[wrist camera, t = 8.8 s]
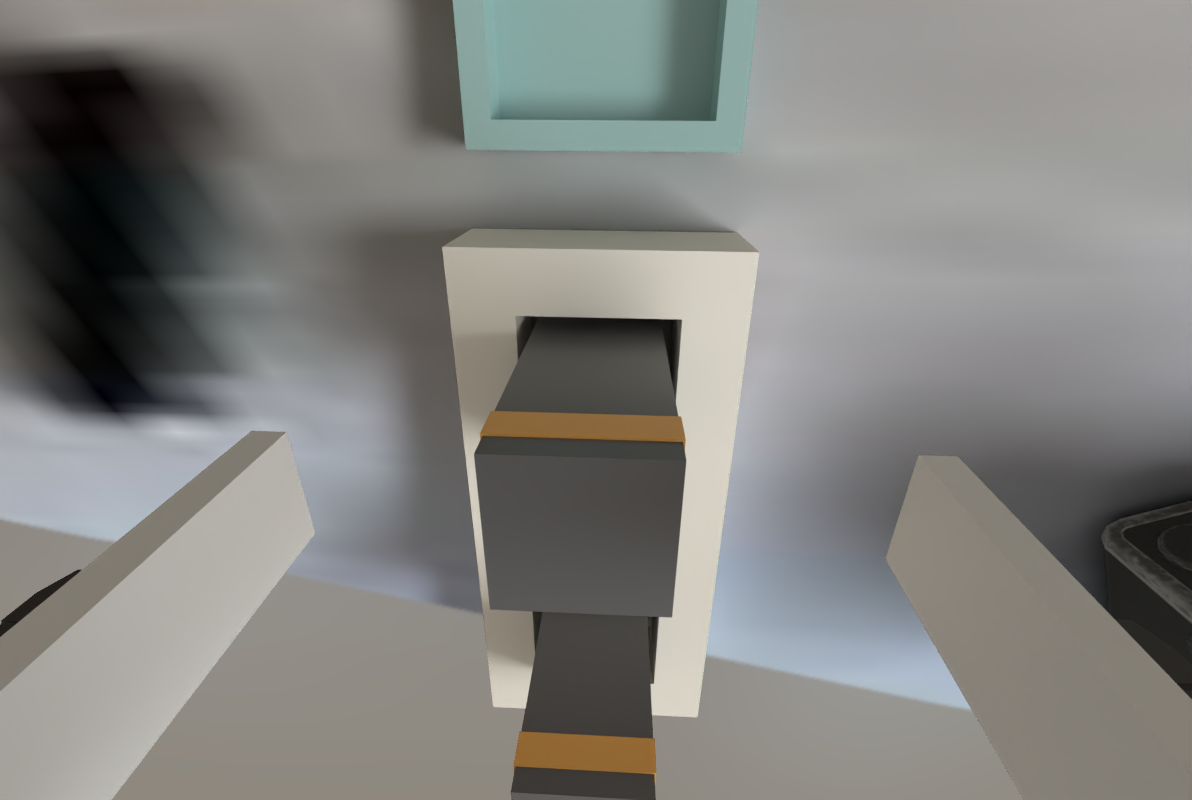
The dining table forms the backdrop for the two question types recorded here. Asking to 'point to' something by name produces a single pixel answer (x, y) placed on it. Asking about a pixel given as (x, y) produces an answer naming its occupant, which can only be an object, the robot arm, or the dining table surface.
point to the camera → (1153, 573)
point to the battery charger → (709, 415)
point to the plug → (584, 473)
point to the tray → (604, 74)
